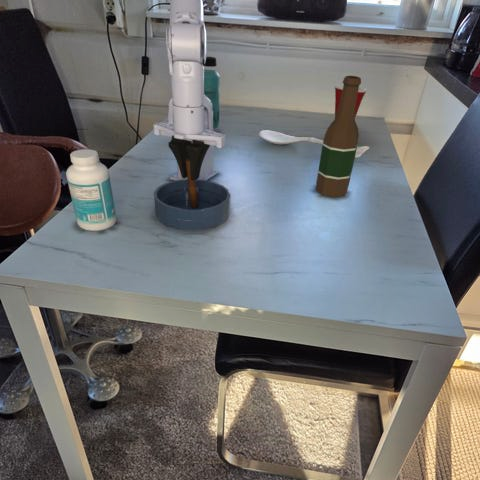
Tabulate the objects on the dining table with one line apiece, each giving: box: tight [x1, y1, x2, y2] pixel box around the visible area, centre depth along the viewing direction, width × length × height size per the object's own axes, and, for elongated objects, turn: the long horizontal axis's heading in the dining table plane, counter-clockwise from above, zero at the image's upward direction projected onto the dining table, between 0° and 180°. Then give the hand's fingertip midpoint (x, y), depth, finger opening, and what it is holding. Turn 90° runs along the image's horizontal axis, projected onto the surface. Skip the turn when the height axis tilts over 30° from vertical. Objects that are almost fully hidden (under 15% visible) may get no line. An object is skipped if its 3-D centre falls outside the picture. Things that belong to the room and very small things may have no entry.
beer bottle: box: [315, 75, 362, 199], centre depth 93 cm, size 8×8×24 cm
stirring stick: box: [185, 158, 198, 208], centre depth 86 cm, size 2×2×10 cm
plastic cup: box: [334, 84, 368, 118], centre depth 142 cm, size 11×11×12 cm
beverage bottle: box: [201, 56, 221, 130], centre depth 127 cm, size 6×7×20 cm
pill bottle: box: [65, 148, 117, 232], centre depth 79 cm, size 8×7×14 cm
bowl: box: [153, 179, 232, 231], centre depth 87 cm, size 15×15×4 cm
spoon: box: [258, 129, 370, 159], centre depth 122 cm, size 9×32×3 cm, turn 60°
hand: (190, 177), depth 85 cm, fingers closed on stirring stick, 1 cm apart
